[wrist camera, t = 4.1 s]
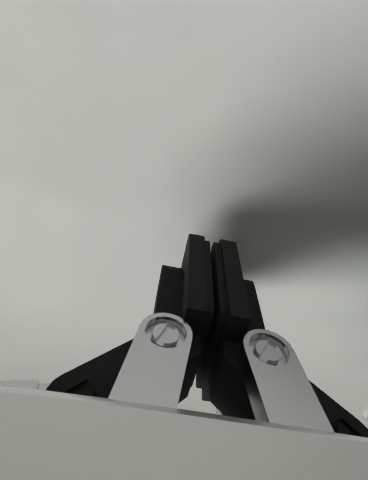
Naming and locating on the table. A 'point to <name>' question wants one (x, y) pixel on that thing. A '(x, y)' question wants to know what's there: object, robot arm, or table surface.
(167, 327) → the robot arm
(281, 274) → the table surface
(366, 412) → the metal bracket
